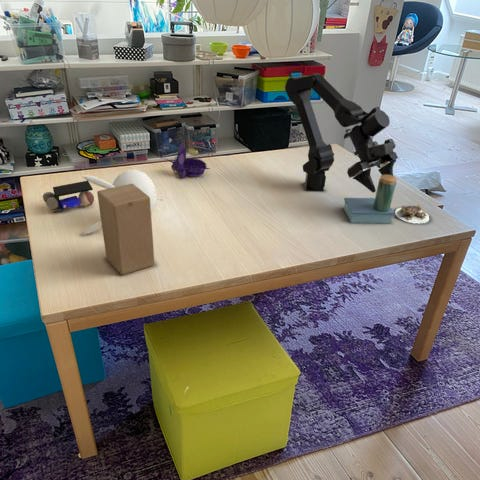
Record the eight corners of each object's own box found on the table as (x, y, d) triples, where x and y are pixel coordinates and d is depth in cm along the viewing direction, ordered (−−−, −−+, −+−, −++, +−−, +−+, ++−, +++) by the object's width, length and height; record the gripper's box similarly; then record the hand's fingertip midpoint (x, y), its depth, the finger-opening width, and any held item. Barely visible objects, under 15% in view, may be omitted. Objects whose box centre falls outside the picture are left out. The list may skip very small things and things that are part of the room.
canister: (375, 211, 160) (382, 180, 154) (370, 204, 164) (377, 174, 158) (391, 212, 161) (399, 181, 154) (386, 204, 165) (394, 174, 158)
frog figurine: (410, 226, 161) (413, 215, 159) (386, 211, 170) (389, 200, 167) (437, 221, 166) (440, 210, 163) (413, 206, 174) (415, 195, 172)
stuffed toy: (155, 161, 153) (73, 162, 140) (174, 180, 144) (88, 184, 132) (150, 216, 164) (73, 222, 152) (166, 237, 156) (86, 245, 143)
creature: (161, 172, 187) (159, 139, 180) (207, 168, 192) (207, 136, 185) (166, 181, 181) (164, 147, 173) (213, 177, 186) (214, 144, 178)
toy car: (51, 220, 156) (98, 207, 161) (44, 198, 151) (92, 185, 156) (47, 211, 161) (92, 199, 166) (39, 189, 156) (86, 177, 161)
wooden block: (155, 265, 136) (150, 196, 124) (121, 276, 131) (112, 205, 119) (138, 249, 142) (132, 182, 130) (105, 259, 137) (96, 190, 125)
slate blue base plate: (350, 223, 161) (352, 212, 159) (342, 208, 170) (344, 197, 168) (391, 223, 163) (394, 212, 160) (381, 208, 171) (384, 198, 169)
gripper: (361, 135, 147) (383, 184, 147) (400, 125, 157) (420, 171, 157) (337, 154, 157) (357, 199, 157) (375, 143, 166) (394, 186, 167)
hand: (383, 188), depth 159 cm, fingers open, 9 cm apart
